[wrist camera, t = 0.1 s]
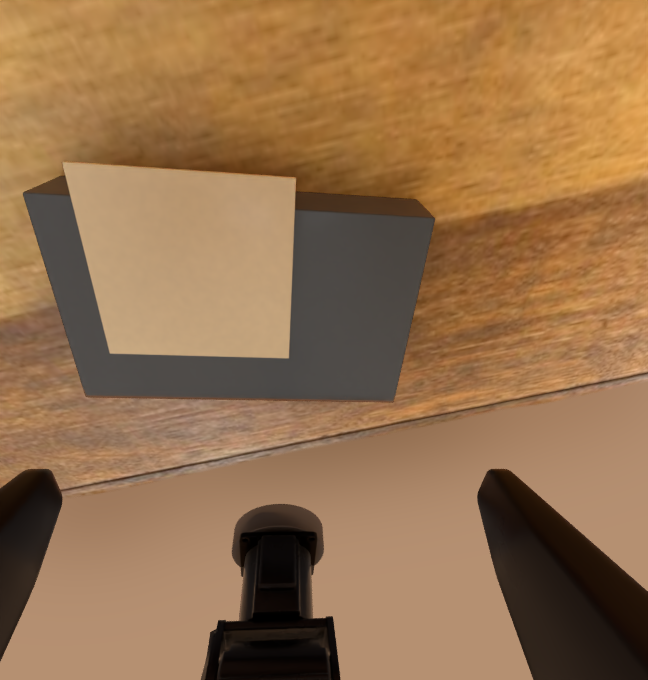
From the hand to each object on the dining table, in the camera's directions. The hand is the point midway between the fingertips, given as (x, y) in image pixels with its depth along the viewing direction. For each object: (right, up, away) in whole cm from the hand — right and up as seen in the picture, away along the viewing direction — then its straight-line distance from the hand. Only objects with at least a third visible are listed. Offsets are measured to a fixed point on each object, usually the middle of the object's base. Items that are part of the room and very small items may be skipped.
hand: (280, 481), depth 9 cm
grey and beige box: (-3, +6, +13) cm, 14 cm away
